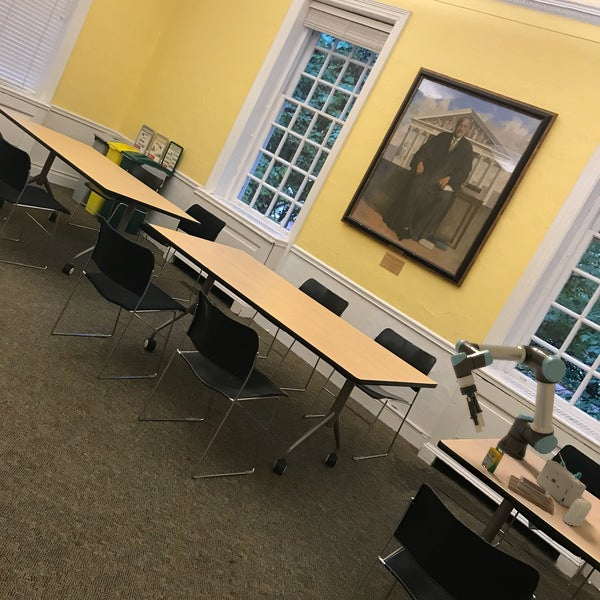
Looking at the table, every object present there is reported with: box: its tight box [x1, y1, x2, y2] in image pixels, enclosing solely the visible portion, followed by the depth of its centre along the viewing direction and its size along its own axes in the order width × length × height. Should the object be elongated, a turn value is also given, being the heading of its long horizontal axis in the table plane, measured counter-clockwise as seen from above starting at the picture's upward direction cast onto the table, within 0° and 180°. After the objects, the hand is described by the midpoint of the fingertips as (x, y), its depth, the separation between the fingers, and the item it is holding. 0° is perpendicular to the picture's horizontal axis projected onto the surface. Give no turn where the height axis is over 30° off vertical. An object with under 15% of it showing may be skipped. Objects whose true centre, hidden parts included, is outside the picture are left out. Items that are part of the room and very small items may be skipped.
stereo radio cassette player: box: [536, 448, 587, 508], centre depth 280 cm, size 21×8×20 cm, turn 16°
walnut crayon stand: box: [507, 474, 554, 515], centre depth 265 cm, size 18×20×4 cm
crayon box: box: [481, 445, 506, 474], centre depth 272 cm, size 7×3×12 cm, turn 10°
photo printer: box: [562, 498, 593, 527], centre depth 253 cm, size 10×4×12 cm, turn 119°
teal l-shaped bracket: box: [559, 461, 583, 481], centre depth 312 cm, size 18×11×10 cm, turn 157°
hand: (481, 429), depth 274 cm, fingers open, 13 cm apart
